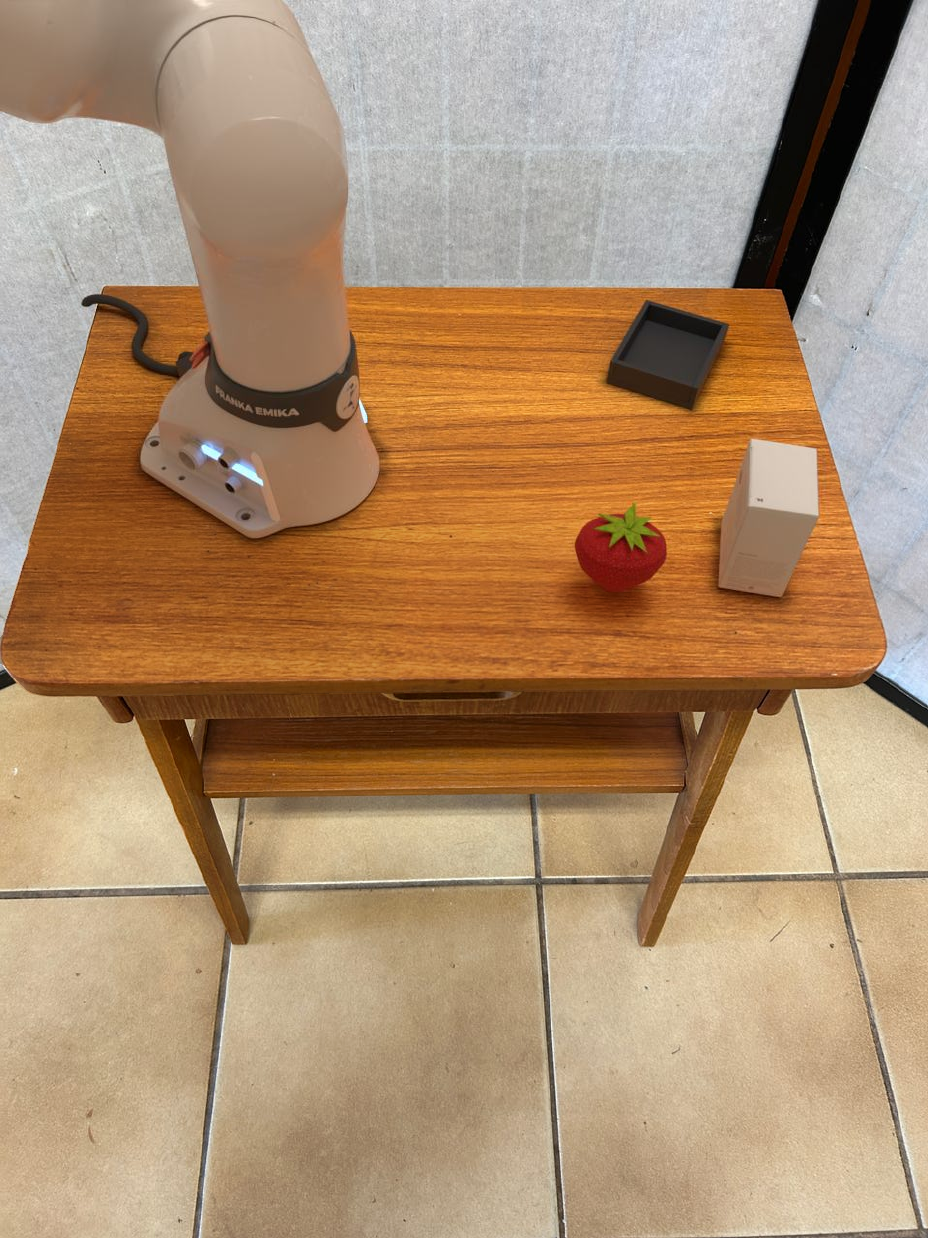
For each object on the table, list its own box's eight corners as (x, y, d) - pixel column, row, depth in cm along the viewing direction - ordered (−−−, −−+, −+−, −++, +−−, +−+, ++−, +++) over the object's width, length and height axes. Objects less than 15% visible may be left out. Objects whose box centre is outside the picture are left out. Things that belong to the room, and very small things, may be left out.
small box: (781, 600, 82) (821, 518, 73) (715, 588, 82) (747, 506, 74) (782, 530, 86) (819, 446, 78) (720, 520, 87) (750, 435, 78)
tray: (606, 382, 98) (610, 360, 95) (641, 321, 104) (646, 299, 101) (692, 409, 96) (698, 388, 93) (723, 345, 102) (729, 323, 99)
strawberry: (568, 557, 84) (582, 478, 76) (654, 565, 84) (677, 487, 76) (566, 611, 81) (580, 534, 73) (655, 620, 80) (679, 543, 72)
